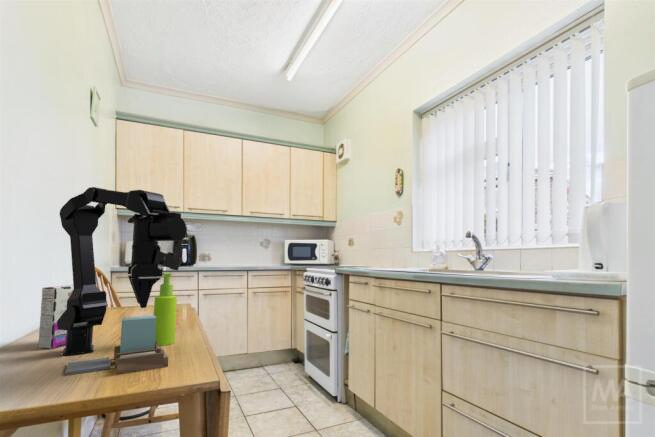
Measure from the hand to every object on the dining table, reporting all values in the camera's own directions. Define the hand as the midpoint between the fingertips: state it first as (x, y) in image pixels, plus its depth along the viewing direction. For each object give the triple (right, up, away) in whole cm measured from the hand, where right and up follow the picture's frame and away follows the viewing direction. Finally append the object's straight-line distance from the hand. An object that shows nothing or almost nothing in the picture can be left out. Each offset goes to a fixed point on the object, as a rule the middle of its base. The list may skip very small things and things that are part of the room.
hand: (141, 305), depth 85 cm
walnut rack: (+1, -13, -3) cm, 13 cm away
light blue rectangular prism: (0, -13, -1) cm, 13 cm away
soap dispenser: (-2, -15, +15) cm, 22 cm away
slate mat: (-8, -12, -7) cm, 16 cm away
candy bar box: (-30, -15, +14) cm, 36 cm away
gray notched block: (+3, -13, -6) cm, 14 cm away
